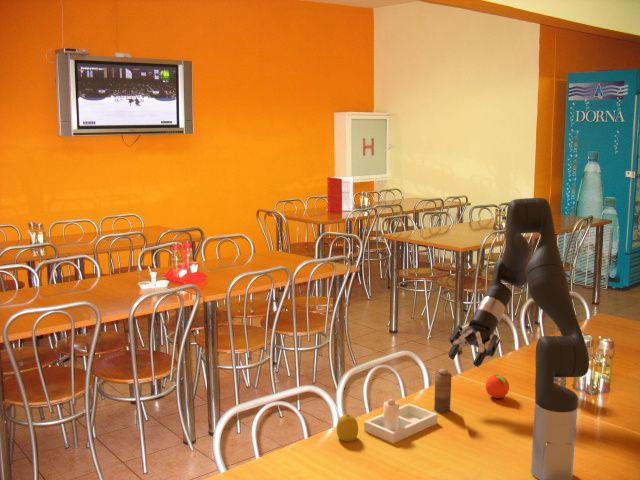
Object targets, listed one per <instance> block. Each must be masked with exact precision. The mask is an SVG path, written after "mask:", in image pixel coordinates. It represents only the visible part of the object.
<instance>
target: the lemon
mask: <svg viewBox="0 0 640 480" xmlns="http://www.w3.org/2000/svg"><path fill="white" fill-rule="evenodd" d="M358 433H359V425H358V421H357V419H356V418H355V416H353V415H351V414H349V413H346V414H344V415H342V416H340V417H339V419H338V421H337V424H336V435H337V437H338V439H339V440H341V441H342V442H345V443H347V442H349V443H350V442H353V441H354V440H356V439H357V438H358V437H357V436H358V435H359V434H358Z"/></svg>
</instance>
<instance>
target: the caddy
mask: <svg viewBox="0 0 640 480" xmlns="http://www.w3.org/2000/svg"><path fill="white" fill-rule="evenodd" d="M438 414H439V413H437V412H436V413H435V412H433V411H430V410H427V409H425V408H423V407H420V406H417V405H415V404H413V403H406V404H404V405H401V406H399V422H398V429H397V430H395V431H390V430H388V429H386V428H383V413H382V414H379V415H377V416H374V417H372V418H369V419H367V420H364V422H363V431H364V432H365V433H369V434H371V435H373V436H374V437H375V436H376V437H377V438H378V439H379V438H380V439H381V440H384V441H386V442H389V443H391V444H396V443H397V442H400V441H401V440H404V439H406V438H408V437H410V436H413V435H415V434H416V433H419V432H420V431H423V430H426V429H427V428H429V427H432V426H434V425H436V424H438V417H439V416H438Z"/></svg>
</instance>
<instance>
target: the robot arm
mask: <svg viewBox="0 0 640 480" xmlns="http://www.w3.org/2000/svg"><path fill="white" fill-rule="evenodd" d="M505 219H506V220H505V246H504V251H503V254H502V257H499V259H497V260H496V262H495V264H494V266H493V272H492V278H491V281H490V285H489V287H488V289H487V291H486V292H485V295H484V296H483V298H482V299H481V300H480V302H479V304H478V306H477V307H476V309H475V311H474V312H473V315H472V317H471V318H470V320H469V323H468V326H467V327H462V325H460V324H458V325H457V326H456V327H455V329H454V331H453V332H452V334H451V336H450V337H449V339H448V342H449V343H450V344H451V348H450V350H449V351H448V357H449V359H450V360H454V359H455V358H456V356H457V354H458V352H459V351H460V349H461V348H462V347H466V346H468V345H469V346H474V347H475V348H479V352H478V353H477V355H476V357H475V358H474V360H473V362H472V364H473V365H474V367H476V368H479V367H480V366H481V365H482V364H483V361H484V360H485V358H486V357H493V356H494V355H495V353H496V350H497V348H498V346H499V344H500V341H501V339H500V337H499V336H498V335H497V334H496V333H495V330H496V329H497V328H498V325H499V324H500V321H501V319H502V318H503V315H504V312H505V310H506V308H507V307H508V305H509V303H510V301H511V299H512V296H513V292H512V290H511V289H510V288H509V287H508V286H507V285H506V284H509V285H511V286H513V287H516V288H521V287H523V286H524V285H525V284H526V283H527V288H528V291H529V295H530V298H531V299H532V300H533V302H534V303H535V304H536V306H538V308H540V309H541V311H543V313H545V315H547V316H548V317H549V318H550V319H551V320H552V322H554V323H555V325H557V329H558V330H559V332H560V335H543V336H540V337H539V338H538V339H537V342H536V346H535V381H534V384H535V385H534V389H535V390H534V391H535V393H534V396H535V398H534V409H533V410H534V413H533V427H532V428H533V430H532V431H533V432H532V446H531V463H530V464H531V467H530V472H531V475H532V476H533V477H535V478H536V479H537V480H573V475H574V459H575V446H576V445H575V442H576V431H577V429H576V427H577V419H578V418H577V415H578V402H579V397H578V395H577V394H576V393H575V392H574V391H573V390H572V389H570V388H567V387H566V388H565V387H562V386H560V384H558V385H557V384H555V383H554V377H567V378H581V377H585V376H586V375H587V373H588V372H589V368H590V356H589V351H588V347H587V343H586V341H585V337H584V334H583V332H582V329H581V326H580V323H579V321H578V318H577V315H576V312H575V309H574V305H573V301H572V297H571V296H572V295H571V292H570V288H569V284H568V279H567V274H566V271H565V268H564V264H563V260H562V258H561V253H560V250H559V246H558V242H557V235H556V230H555V224H554V218H553V212H552V208H551V204H550V203H549V201H548V199H547V198H543V197H529V198H528V197H527V198H516V199H512V200H511V201H509V204H508V205H507V209H506V218H505ZM535 233H538V234H540V240H539V243H538V245H537V247H536V249H535V251H534V252H533V254H532V256H531V257H530V260H529V256H530V253H531V246H530V243H529V241H528V240H527V238H526V237H525V236H524V235H523V234H535ZM528 260H529V261H528ZM502 281H503V282H504V283H503V282H502ZM505 283H506V284H505ZM494 333H495V334H494ZM488 342H489V344H488V347H487V343H488Z"/></svg>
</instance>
